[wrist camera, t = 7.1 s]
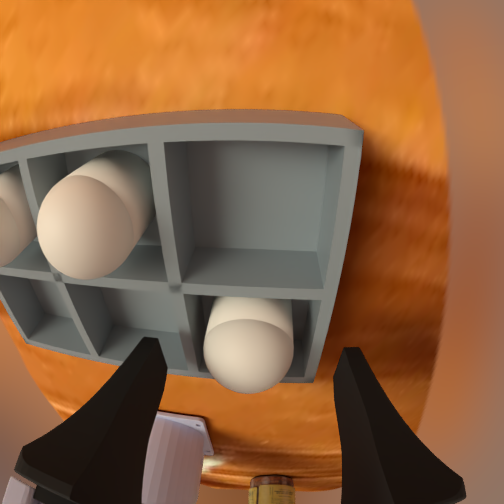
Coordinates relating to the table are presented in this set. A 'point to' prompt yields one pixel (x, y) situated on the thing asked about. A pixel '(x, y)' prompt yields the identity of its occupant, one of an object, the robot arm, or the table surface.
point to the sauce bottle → (271, 490)
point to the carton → (195, 232)
